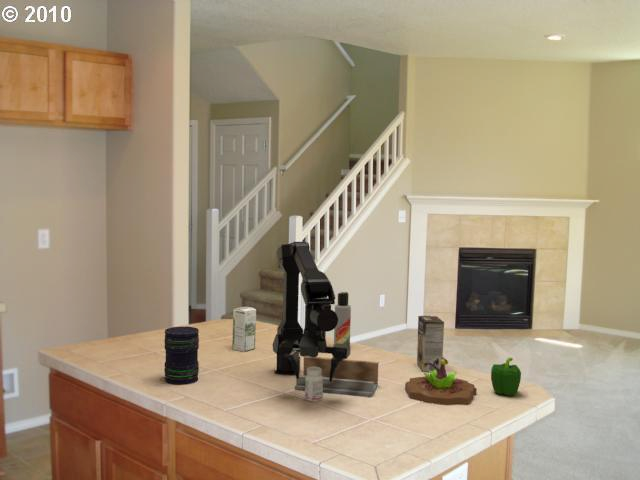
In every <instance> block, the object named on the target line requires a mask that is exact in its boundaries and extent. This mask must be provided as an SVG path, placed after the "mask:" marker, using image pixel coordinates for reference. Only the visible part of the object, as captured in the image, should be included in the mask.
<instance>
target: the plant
mask: <svg viewBox="0 0 640 480" xmlns="http://www.w3.org/2000/svg"><path fill="white" fill-rule="evenodd" d="M440 363H441V366H440V369H439V368H438V367H436V365H434V364H432V363H427V362H425V363H423V364H422V367H423V368H426V367H427V365H431V366H433V367H434V368H435V370H434V372H431V371H429V372H428V373H429V374H428V373H427V372H423V373H422V374H423V375H424V376H418V377H417V376H416V377H411V378H409V380H408V381H407V382H405V384H404V385H405V386H404V390H405V392H406V394H407V396H408V398H409V399H411V400H414V401H415V400H416V401H419V402H422V401H423V403H427V404H432V403H433V405H442V406H452V405H459V406H460V405H463V406H468V405H470V404H471V402H472V401H473V398H474V396H476V395H477V388H476V387H475V384H473V383H471V382H469V381H468V380H465V379H461V378H458V377H456V375H457V373H458V372H457V371H455V372H454V371H453V372H450V373H449V374H448V373H447V371H446V365H448V364H449V360H448V359H446V358H445V357H444V356H443V357H442V358H441V360H440Z"/></svg>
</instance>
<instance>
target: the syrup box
mask: <svg viewBox="0 0 640 480" xmlns="http://www.w3.org/2000/svg"><path fill="white" fill-rule="evenodd" d="M256 323H257V309H256V308H254V307H252V306H251V307H250V306H243V307H242V306H241V307H237V308H233V314H232V350H233V351H237V352H238V351H239V352H243V353H245V352H249V351H252V350H255V349H256V330H257V328H256V326H257V325H256Z"/></svg>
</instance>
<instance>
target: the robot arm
mask: <svg viewBox="0 0 640 480" xmlns="http://www.w3.org/2000/svg"><path fill="white" fill-rule="evenodd" d="M310 249H311V248H310V243H309V242H307V241H293V242H290V243H283V244H281V245H280V246H279V247H278V248H277V250H276V255H277V259H278V265H279V266H280V267H279V268H281V270H282V271H283V295H282V296H283V297H282V298H283V299H282V320H281V321H280V323H279V324H278V326H277V329H276V334H275V337H274V338H273V339H274V340H273V343H272V352H274V353H275V354H276V370H274V373H275V374H280V375H282V374H283V375H293V376H295V378H296V379H298V378H299V375H300V370H301V357H303V358H304V357H305V356H310V357H319V356H318V355H319V354H329V355H330V354H331V355H332V357H331V358H332V359H331V369H330V377H329V380H330V382H331V381H332V379H333V376H334V373H335V371H336V368H337V366H338V364H339V362H341V361H343V359H346V360H348V358H349V357H350V355H351V345H350V346H349V344H339V343H336V344H335V345H334V344H333V346H329V345H327V338H326V335H327V334H326V332H331V331H334V328H335V327H336V326H337V324H338V317H337V314H336V313H335V310H332V305H336V304H335V303H336V301H335V300H336V295H335V291H334V288H333V285H332V282H331V281H330V280H329V277H328V276H327V275H326V273H325V272H322V271H321V270H319V268H318V266H317V265H316V261H315V260H314V257H313V255H312V253H311V251H310ZM300 275H301V278H302V280H301V283H300ZM299 286H300V287H299ZM299 290H300V292H301V295H302V298H303V302H304V304H305V305H304V328H303V327H302V326H301V325H300V323H299V294H300V293H299ZM296 379H295V380H296Z"/></svg>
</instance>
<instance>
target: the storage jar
mask: <svg viewBox="0 0 640 480" xmlns="http://www.w3.org/2000/svg"><path fill="white" fill-rule="evenodd" d="M199 332H200V331H199V328H197V327H193V326H173V327H167V328H165V330H164V342H163V343H164V350H165V362H164V365H163V366H164V369H163V371H164V377H165V378H164V382H165V383H166V384H169V385H174V386H186V385H191V384H196V383H197V382H198V381H199V371H200V369H199V368H200V367H199V364H200V363H199V361H198V360H199V359H198V356H199V355H198V354H199V352H198V350H199V345H200V338H199Z"/></svg>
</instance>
